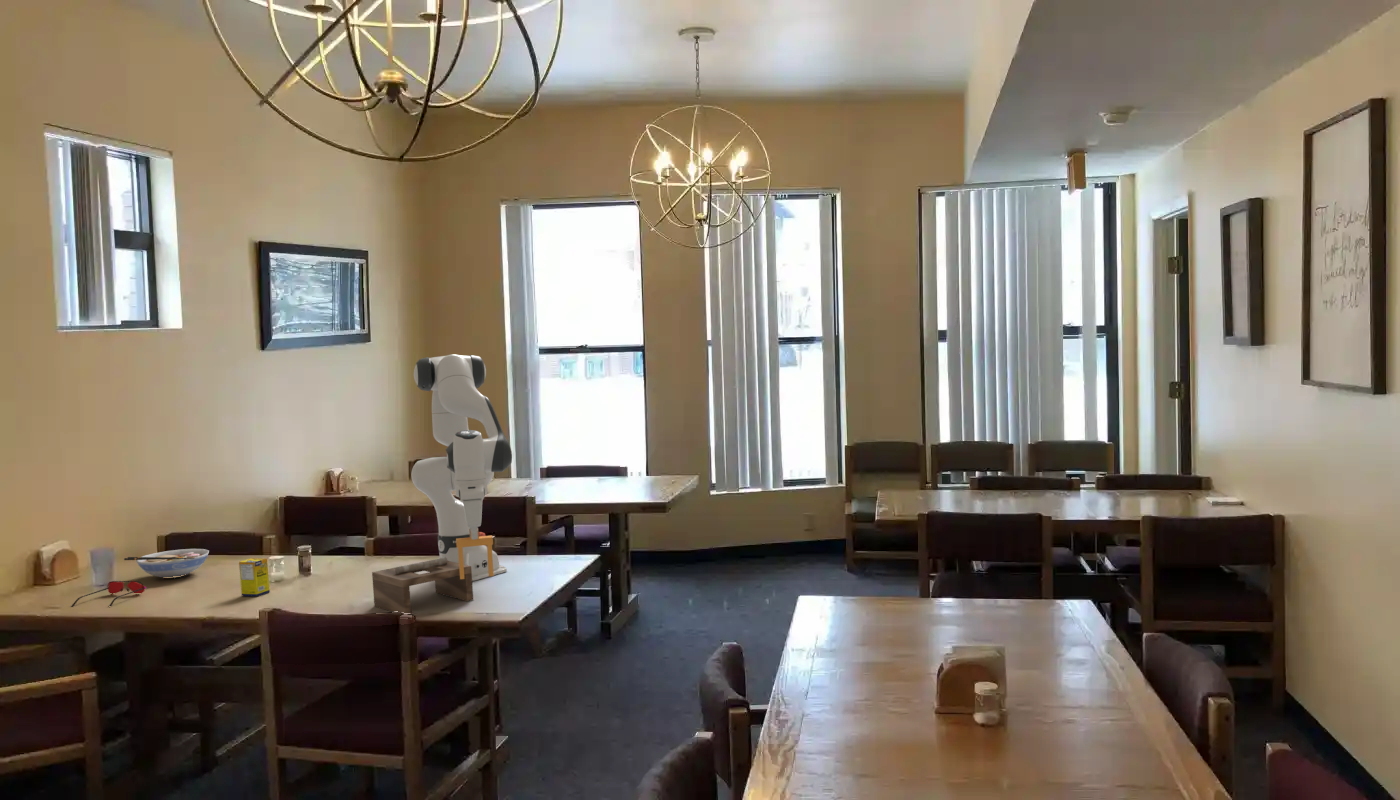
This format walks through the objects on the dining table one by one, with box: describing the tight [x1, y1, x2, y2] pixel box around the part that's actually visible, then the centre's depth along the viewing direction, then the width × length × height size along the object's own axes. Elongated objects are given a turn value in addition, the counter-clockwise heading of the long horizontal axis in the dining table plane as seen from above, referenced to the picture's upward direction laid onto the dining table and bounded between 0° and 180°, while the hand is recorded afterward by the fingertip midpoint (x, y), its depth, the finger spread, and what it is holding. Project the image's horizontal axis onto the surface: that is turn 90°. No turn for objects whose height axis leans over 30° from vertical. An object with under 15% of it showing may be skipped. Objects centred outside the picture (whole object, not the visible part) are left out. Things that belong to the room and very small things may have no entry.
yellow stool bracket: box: [456, 529, 495, 579], centre depth 309 cm, size 3×10×13 cm, turn 103°
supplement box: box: [238, 557, 271, 597], centre depth 342 cm, size 6×6×11 cm
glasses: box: [70, 580, 147, 608], centre depth 344 cm, size 14×16×5 cm
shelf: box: [371, 557, 474, 614], centre depth 320 cm, size 22×18×12 cm
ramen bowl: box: [123, 548, 210, 578], centre depth 376 cm, size 25×23×8 cm
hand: (474, 537), depth 309 cm, fingers closed on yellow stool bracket, 3 cm apart
